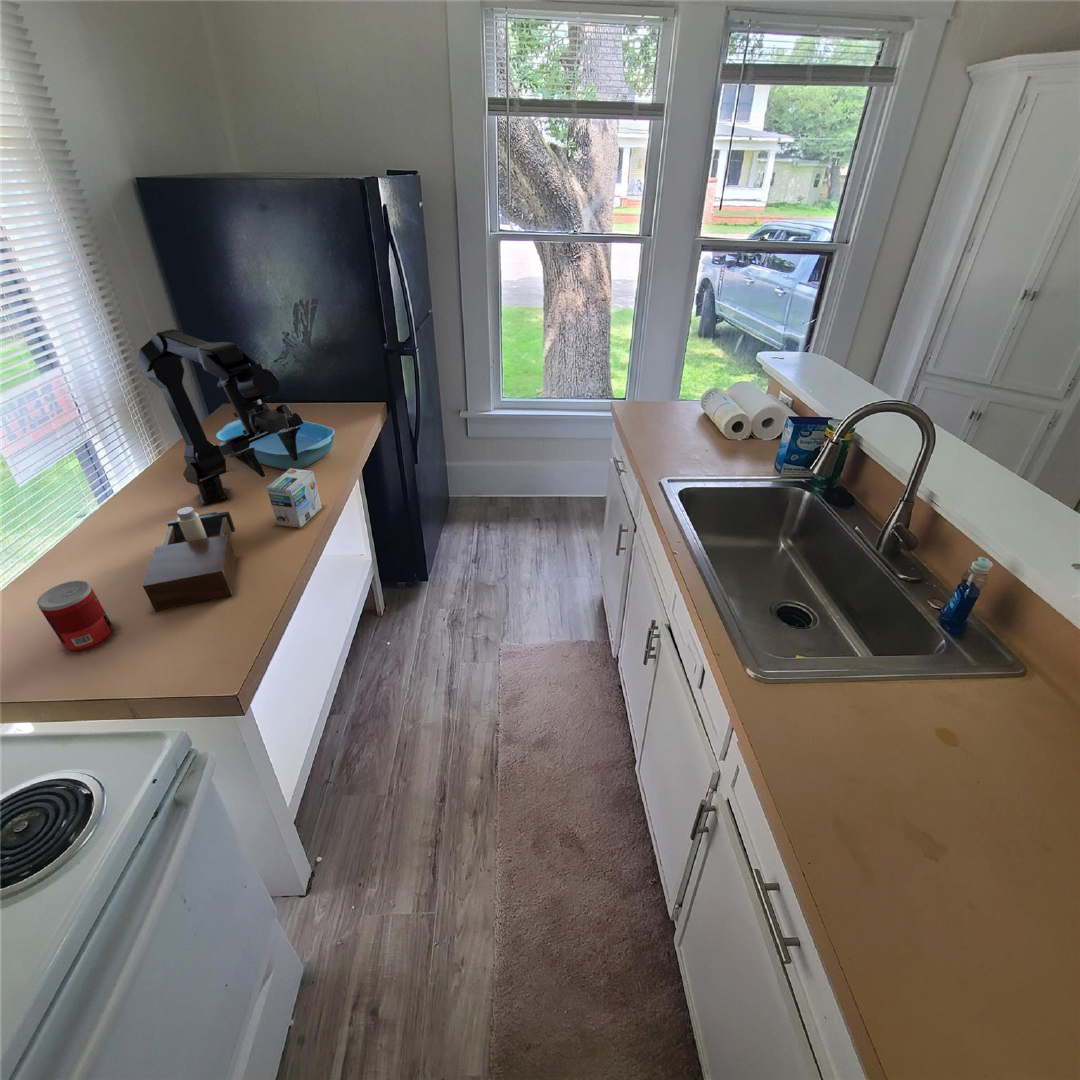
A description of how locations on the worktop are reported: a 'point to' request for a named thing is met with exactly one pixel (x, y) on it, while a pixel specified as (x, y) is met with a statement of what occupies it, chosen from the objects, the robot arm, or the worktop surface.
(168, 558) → the cabinet
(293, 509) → the light bulb box
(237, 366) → the robot arm
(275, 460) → the casserole dish
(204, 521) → the drawer
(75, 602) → the canned food
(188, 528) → the grey-lidded cream jar
